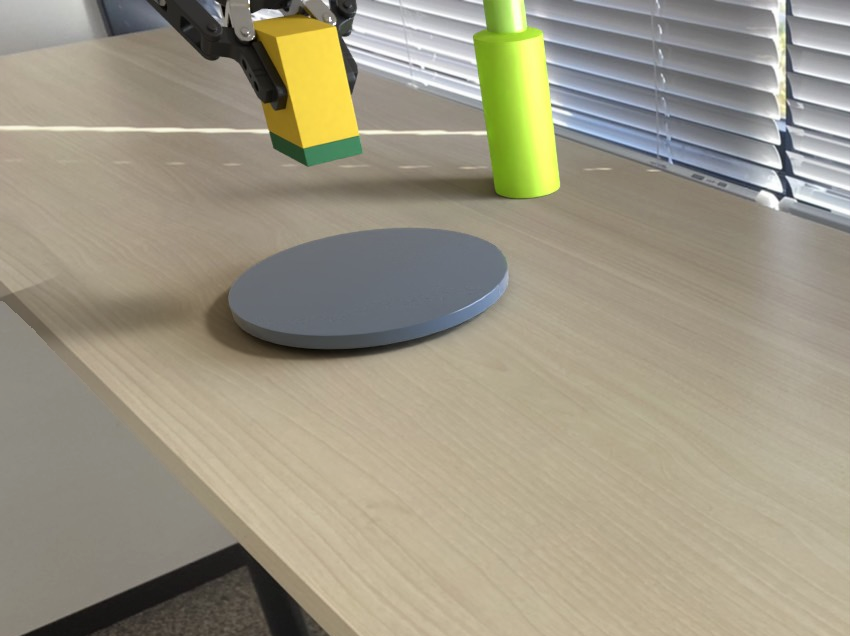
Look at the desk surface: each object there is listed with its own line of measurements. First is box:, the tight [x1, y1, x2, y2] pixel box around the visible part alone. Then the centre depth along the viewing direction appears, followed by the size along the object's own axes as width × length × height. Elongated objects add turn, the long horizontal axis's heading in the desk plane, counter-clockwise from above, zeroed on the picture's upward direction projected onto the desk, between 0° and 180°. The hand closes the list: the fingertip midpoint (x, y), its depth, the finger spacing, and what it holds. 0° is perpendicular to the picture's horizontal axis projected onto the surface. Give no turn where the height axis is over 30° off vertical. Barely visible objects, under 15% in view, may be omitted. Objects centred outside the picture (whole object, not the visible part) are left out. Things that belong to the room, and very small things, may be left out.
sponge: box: [252, 14, 364, 168], centre depth 76 cm, size 4×6×8 cm
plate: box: [227, 227, 510, 350], centre depth 86 cm, size 20×20×2 cm
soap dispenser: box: [472, 0, 561, 199], centre depth 99 cm, size 6×7×20 cm
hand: (316, 94), depth 75 cm, fingers closed on sponge, 4 cm apart
